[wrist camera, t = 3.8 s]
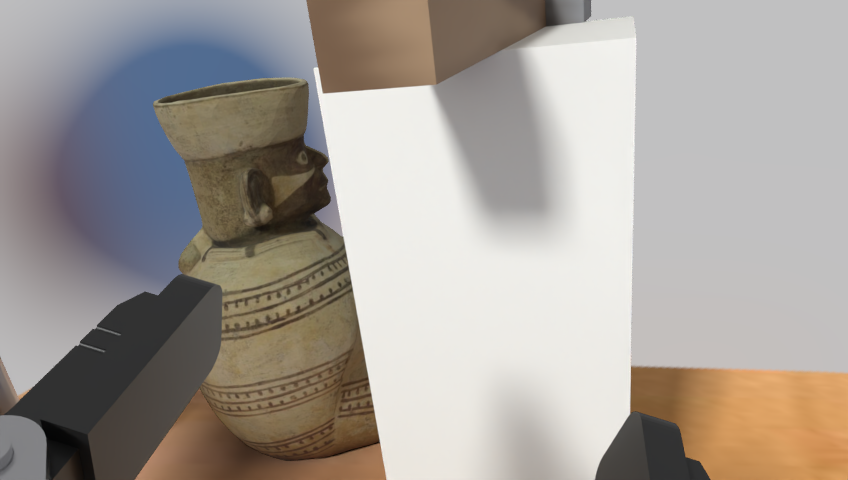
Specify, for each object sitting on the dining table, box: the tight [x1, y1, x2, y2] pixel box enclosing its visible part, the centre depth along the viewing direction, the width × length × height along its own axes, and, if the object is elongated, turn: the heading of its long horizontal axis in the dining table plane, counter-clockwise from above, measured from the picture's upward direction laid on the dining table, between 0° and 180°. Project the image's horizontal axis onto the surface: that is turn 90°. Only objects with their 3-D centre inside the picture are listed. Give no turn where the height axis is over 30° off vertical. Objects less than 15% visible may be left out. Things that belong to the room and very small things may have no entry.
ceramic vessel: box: [153, 78, 380, 461], centre depth 50 cm, size 19×21×30 cm
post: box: [314, 16, 636, 480], centre depth 33 cm, size 12×14×32 cm
